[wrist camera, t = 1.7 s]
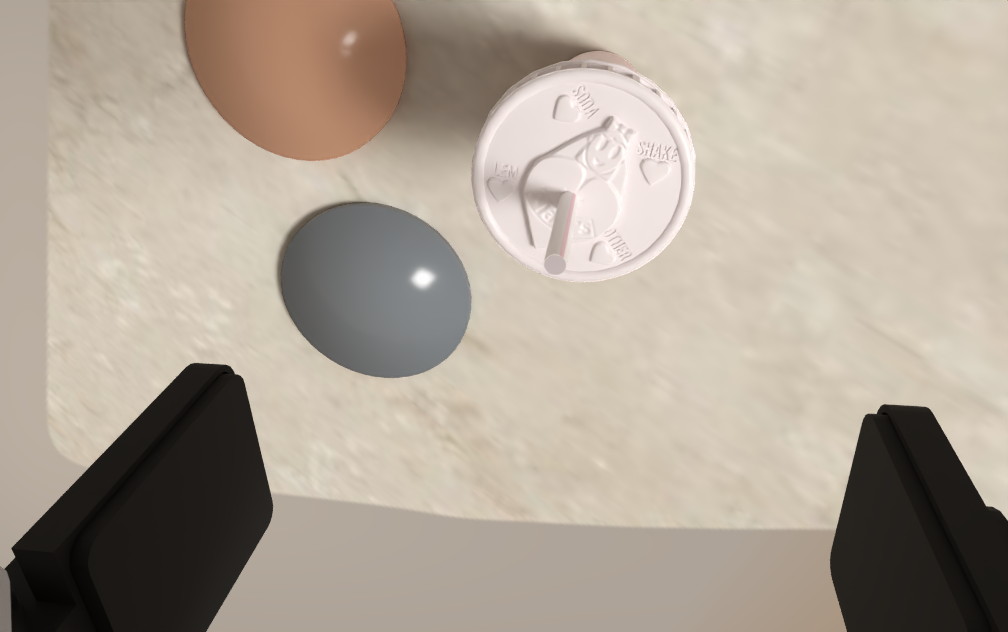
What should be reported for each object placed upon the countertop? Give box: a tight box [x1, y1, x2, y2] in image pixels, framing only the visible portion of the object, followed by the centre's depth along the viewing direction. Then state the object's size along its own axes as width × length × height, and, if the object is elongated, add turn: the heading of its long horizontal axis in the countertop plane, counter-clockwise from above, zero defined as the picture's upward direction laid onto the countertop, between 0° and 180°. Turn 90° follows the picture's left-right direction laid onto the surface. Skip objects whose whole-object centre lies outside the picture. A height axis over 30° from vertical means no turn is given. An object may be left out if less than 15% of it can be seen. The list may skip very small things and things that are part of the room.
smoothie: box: [472, 51, 695, 282], centre depth 23 cm, size 6×6×14 cm
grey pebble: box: [281, 202, 471, 378], centre depth 35 cm, size 9×9×1 cm
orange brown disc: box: [185, 0, 406, 161], centre depth 30 cm, size 9×9×1 cm
